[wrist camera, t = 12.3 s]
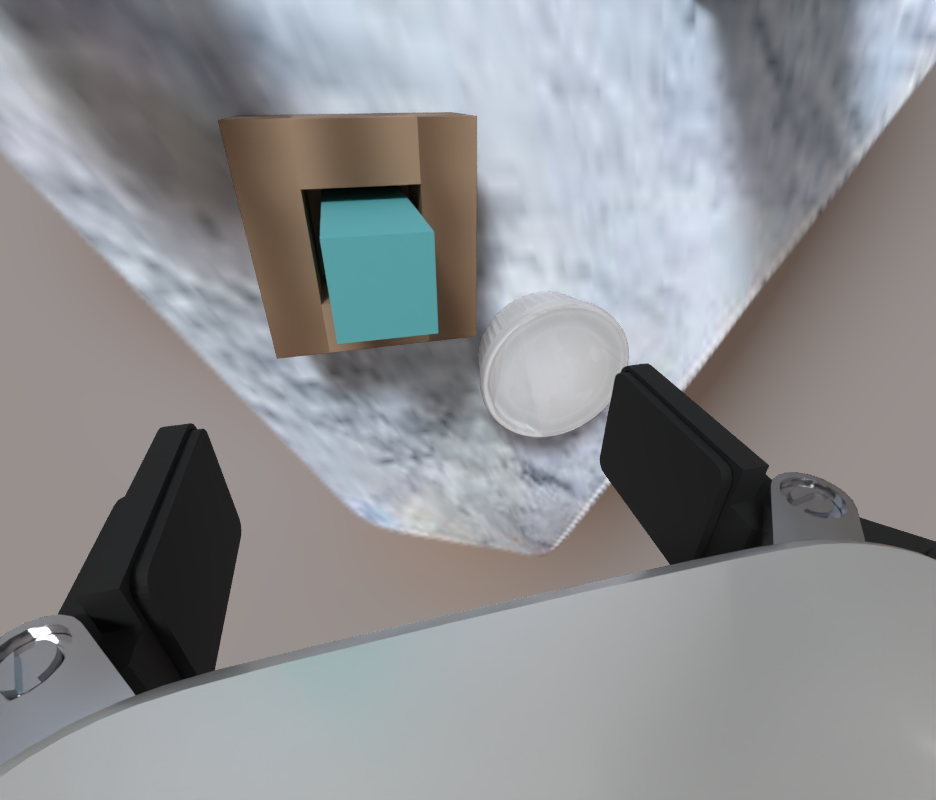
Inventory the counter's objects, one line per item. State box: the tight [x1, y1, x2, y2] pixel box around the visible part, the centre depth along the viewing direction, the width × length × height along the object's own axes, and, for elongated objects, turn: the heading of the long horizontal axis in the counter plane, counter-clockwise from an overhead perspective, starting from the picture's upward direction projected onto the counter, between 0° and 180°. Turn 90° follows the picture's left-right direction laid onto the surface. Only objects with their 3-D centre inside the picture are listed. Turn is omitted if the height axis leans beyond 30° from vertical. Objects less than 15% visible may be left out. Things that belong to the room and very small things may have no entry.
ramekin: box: [478, 292, 629, 437], centre depth 37 cm, size 11×11×5 cm
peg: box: [320, 186, 438, 344], centre depth 25 cm, size 4×4×12 cm
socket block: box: [218, 112, 477, 359], centre depth 28 cm, size 12×12×6 cm
